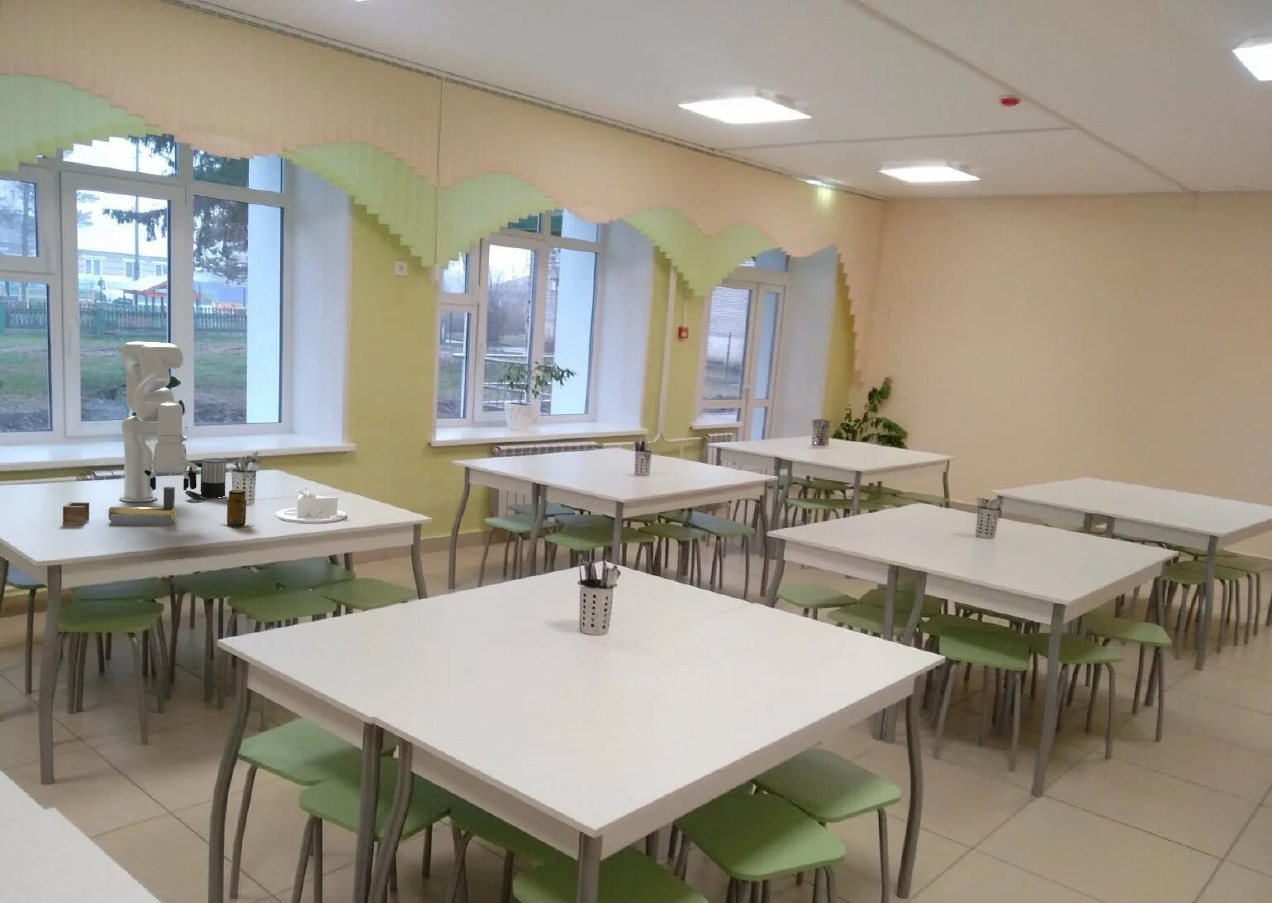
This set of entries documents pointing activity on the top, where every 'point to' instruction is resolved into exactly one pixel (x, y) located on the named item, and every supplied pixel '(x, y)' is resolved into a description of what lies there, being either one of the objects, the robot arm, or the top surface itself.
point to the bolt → (166, 510)
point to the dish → (312, 509)
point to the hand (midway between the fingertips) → (169, 489)
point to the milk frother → (209, 479)
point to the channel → (141, 519)
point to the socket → (75, 513)
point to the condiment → (236, 509)
